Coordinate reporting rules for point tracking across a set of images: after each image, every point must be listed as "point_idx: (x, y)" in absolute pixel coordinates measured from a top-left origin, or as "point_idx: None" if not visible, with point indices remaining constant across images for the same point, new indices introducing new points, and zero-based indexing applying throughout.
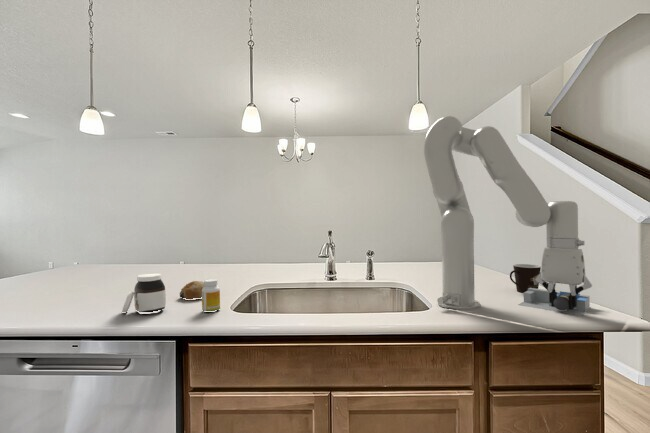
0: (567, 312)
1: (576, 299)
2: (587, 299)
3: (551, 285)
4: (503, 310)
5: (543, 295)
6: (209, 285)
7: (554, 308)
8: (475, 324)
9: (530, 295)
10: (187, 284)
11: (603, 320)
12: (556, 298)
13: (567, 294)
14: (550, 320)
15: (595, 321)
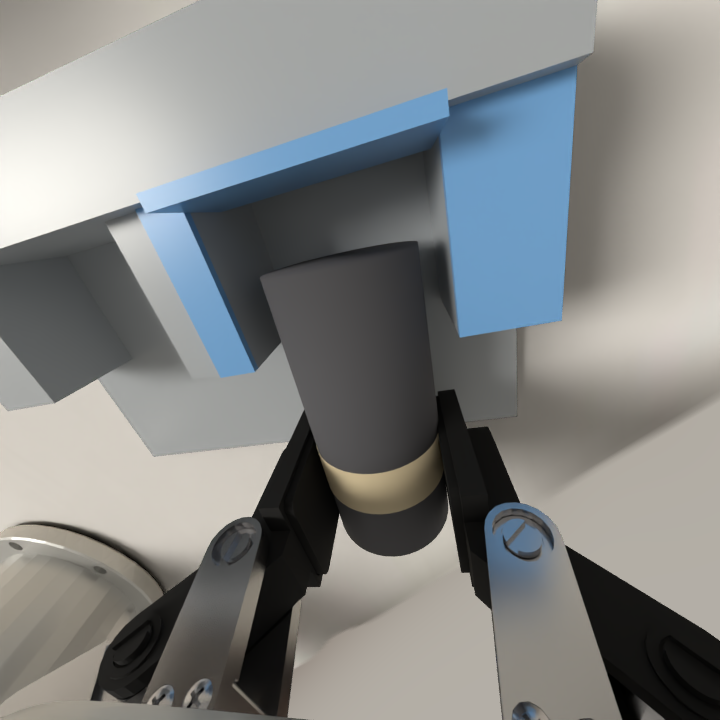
0: None
1: (505, 470)
2: (566, 133)
3: (268, 701)
4: (200, 535)
5: (58, 245)
6: None
7: None
8: (294, 666)
9: (71, 391)
10: None
11: (651, 357)
12: (358, 541)
13: (345, 357)
14: None
15: (599, 419)
